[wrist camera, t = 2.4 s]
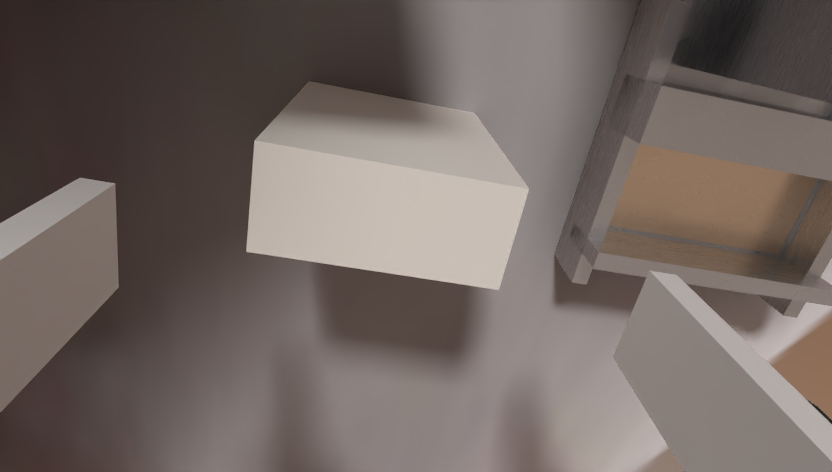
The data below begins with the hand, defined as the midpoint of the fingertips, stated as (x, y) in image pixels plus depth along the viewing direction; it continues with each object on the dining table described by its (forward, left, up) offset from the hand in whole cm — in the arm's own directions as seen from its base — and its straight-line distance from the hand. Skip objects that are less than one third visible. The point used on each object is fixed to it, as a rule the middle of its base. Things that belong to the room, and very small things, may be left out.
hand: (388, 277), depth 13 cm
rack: (+16, +3, -14) cm, 22 cm away
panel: (0, 0, -14) cm, 14 cm away
